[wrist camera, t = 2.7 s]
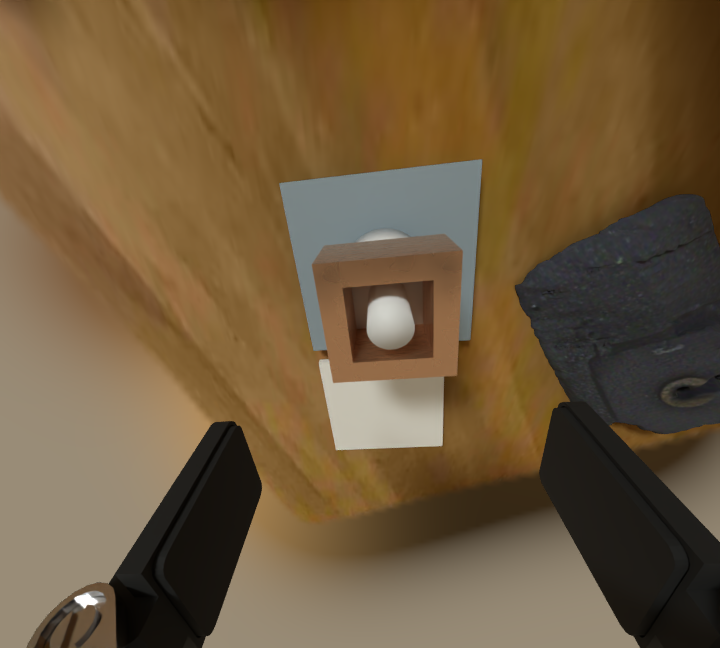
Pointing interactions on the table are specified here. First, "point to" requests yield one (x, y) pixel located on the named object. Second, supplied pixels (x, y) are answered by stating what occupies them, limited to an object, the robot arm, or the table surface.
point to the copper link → (389, 266)
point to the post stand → (385, 237)
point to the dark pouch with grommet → (636, 317)
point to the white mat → (384, 411)
